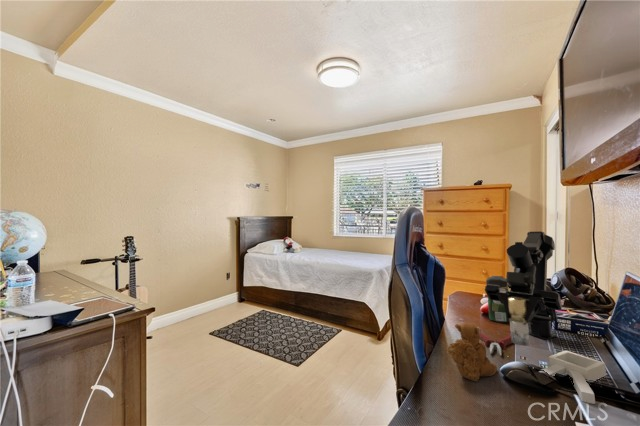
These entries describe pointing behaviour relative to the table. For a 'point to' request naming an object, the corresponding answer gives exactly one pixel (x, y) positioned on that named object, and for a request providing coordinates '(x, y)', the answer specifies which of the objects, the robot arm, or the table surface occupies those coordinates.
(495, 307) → the coffee jar
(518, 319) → the coupler
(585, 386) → the socket
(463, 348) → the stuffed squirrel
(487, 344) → the pliers
